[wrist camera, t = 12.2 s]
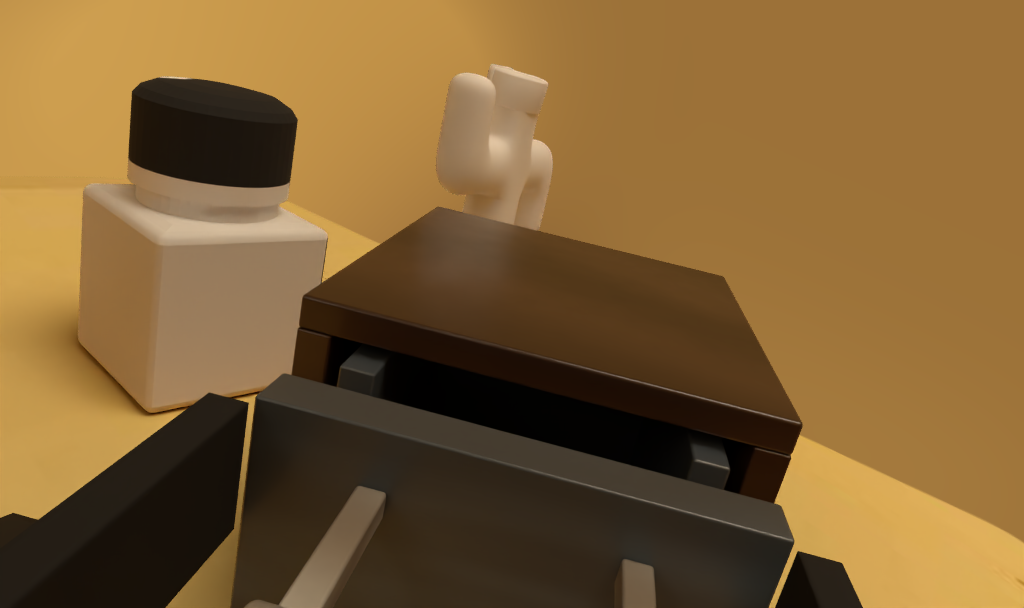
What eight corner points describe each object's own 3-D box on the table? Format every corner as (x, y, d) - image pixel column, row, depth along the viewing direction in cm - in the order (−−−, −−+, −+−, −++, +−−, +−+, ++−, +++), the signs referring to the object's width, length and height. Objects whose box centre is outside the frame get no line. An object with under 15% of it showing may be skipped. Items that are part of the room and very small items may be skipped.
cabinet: (675, 763, 18) (804, 423, 15) (254, 639, 19) (301, 294, 16) (654, 495, 30) (724, 276, 27) (395, 426, 31) (437, 205, 28)
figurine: (554, 350, 44) (620, 92, 39) (470, 395, 35) (540, 75, 31) (454, 309, 46) (504, 65, 42) (355, 342, 38) (403, 43, 34)
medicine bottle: (310, 384, 33) (349, 113, 29) (146, 418, 28) (169, 92, 24) (230, 323, 37) (256, 80, 33) (74, 343, 32) (84, 56, 28)
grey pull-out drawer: (692, 1212, 10) (902, 814, 8) (41, 993, 11) (52, 565, 9) (649, 533, 26) (715, 330, 24) (381, 460, 27) (419, 256, 24)
